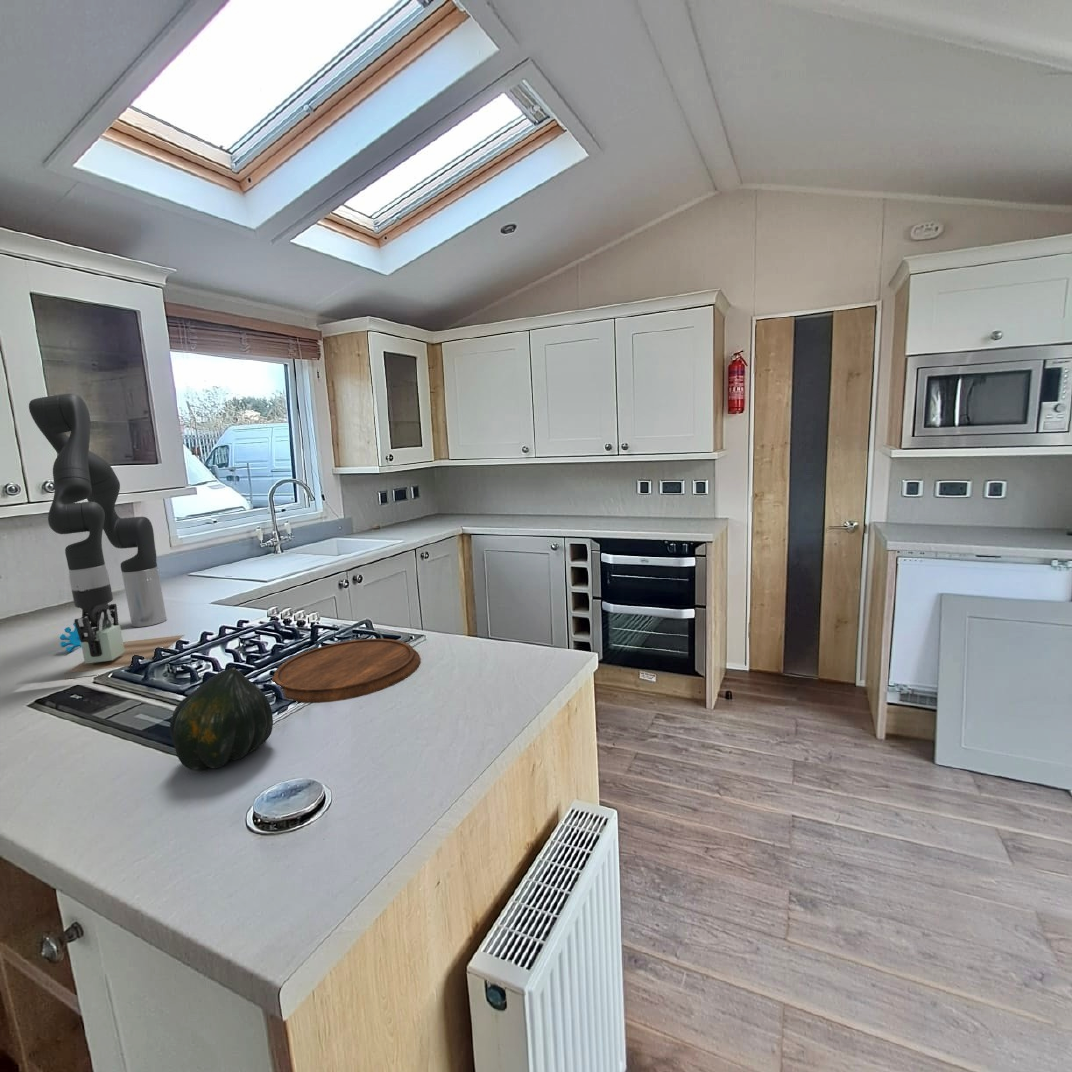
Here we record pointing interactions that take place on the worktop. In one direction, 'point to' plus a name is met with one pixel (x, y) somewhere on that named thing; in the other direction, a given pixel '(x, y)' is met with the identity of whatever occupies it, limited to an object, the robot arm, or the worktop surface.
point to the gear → (71, 639)
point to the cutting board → (346, 670)
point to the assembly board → (128, 654)
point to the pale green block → (106, 645)
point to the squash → (220, 721)
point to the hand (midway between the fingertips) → (104, 651)
